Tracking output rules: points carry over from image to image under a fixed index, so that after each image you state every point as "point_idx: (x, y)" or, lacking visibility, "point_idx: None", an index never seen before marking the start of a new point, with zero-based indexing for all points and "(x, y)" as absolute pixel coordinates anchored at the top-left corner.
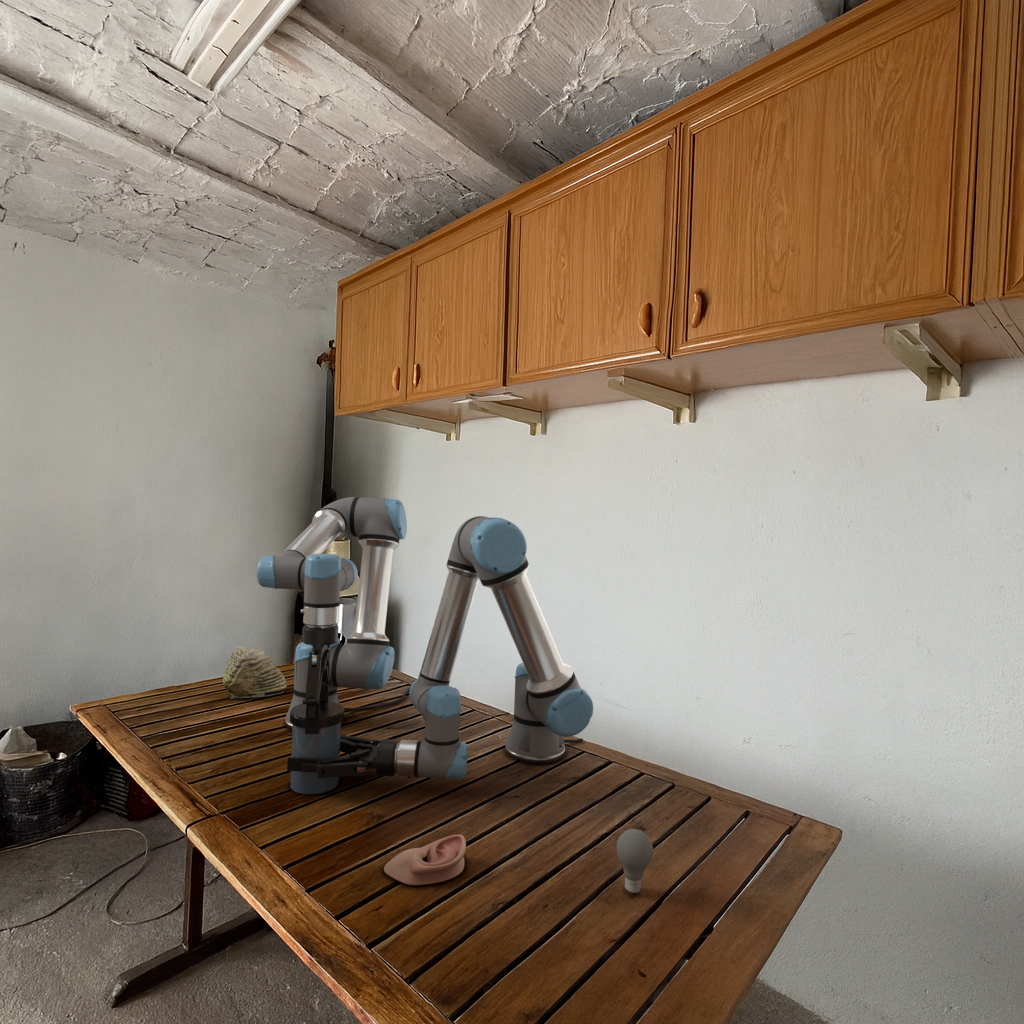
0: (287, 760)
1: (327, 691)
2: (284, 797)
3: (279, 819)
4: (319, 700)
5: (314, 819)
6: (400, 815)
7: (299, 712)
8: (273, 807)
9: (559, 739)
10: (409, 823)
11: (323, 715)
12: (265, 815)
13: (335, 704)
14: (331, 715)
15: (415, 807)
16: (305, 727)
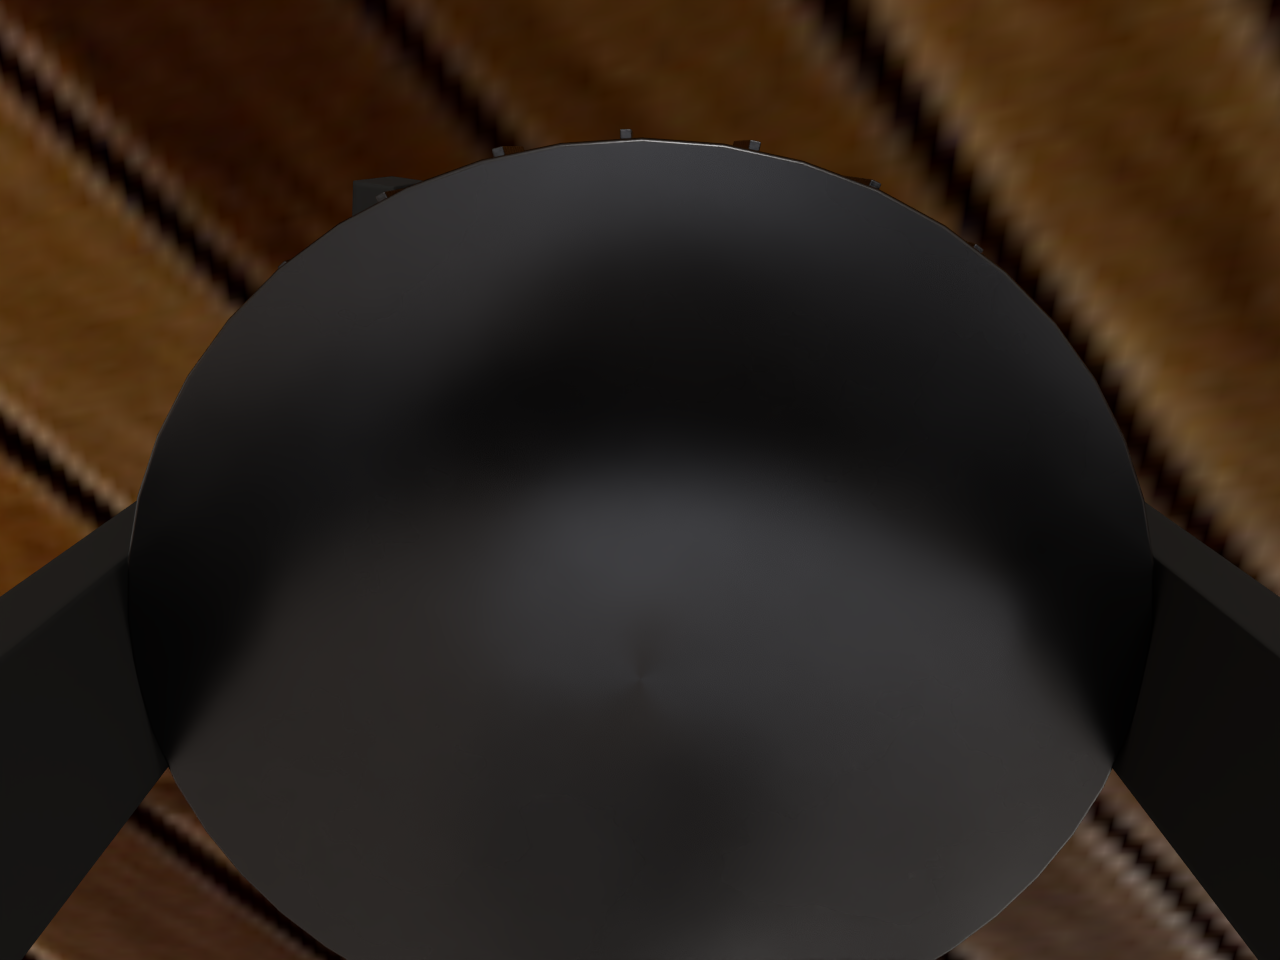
0: (358, 180)
1: (1248, 924)
2: (405, 165)
3: (66, 206)
4: (1162, 646)
5: (106, 443)
6: (224, 885)
7: (426, 375)
8: (236, 114)
9: None
10: (144, 925)
11: (300, 817)
12: (106, 82)
13: (902, 914)
14: (325, 923)
15: (323, 947)
16: (128, 508)
